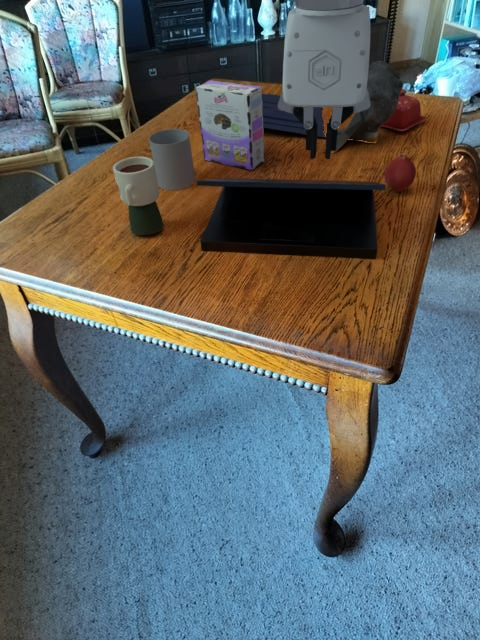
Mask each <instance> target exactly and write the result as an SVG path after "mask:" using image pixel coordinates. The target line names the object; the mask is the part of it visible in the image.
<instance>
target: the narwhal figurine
mask: <svg viewBox="0 0 480 640" xmlns="http://www.w3.org/2000/svg"><path fill="white" fill-rule="evenodd" d="M403 87H404V82H403V81H402V80H401V79H399V76H398V73H397V72H396V70H395V69H394V68H393V66H392V65H391V64H390V63H389V62H387V61H383V60H376V61H373V62H372V63H369V68H368V80H367V89H368V93H369V98H370V108H369V109H366V110H364V111H361V112H358V113H354V114H353V117H352V119H351V120H350V122H349V123H348V125H347V127H345V128H340V129H338V132H337V145H336V151H334V152H335V153H337V152H338V150H340V149H341V148H342V146H344V144H346V142H347V140H348V139H353V140H363V141H367V142H375V141H377V140H378V141H379V135H378V134H379V131H380V128H381V127H380V126H381V125H383V124H384V123H385V122H386V121H387V120H388V119H389V117H390V116H391V115H392V114H393V111H394V110H395V108H396V106H397V104H398V100H399V97H400V94H401V91H402V89H404V88H403ZM378 141H377V142H378Z"/></svg>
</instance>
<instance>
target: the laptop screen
mask: <svg viewBox="0 0 480 640" xmlns="http://www.w3.org/2000/svg"><path fill="white" fill-rule="evenodd" d="M195 181H196V183H195V184H196V186H199V187H219V188H221V187H222V188H223V187H261V188H302V189H344V190H374V191H386V188H387V184H385V183H381V182H377V181H372V180H371V181H370V180H369V181H368V180H367V181H366V180H365V181H364V180H325V179H323V180H322V179H321V180H319V179H318V180H317V179H280V178H279V179H276V178H275V179H274V178H273V179H272V178H227V177H226V178H225V177H223V178H212V179H199V180H195Z"/></svg>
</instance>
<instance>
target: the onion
mask: <svg viewBox="0 0 480 640" xmlns="http://www.w3.org/2000/svg"><path fill="white" fill-rule="evenodd" d="M416 177H417V169H416V166H415V164H414V161H412V159H410V158H409V156H407V154H406V153H405V152H402V153H401V154H400V155H399V156H397V157H395V158H394V159H392V160H391V161H390V162H389V163H388V165H387V166H386V168H385V171H384V181H385V183H386V186H388V187H389V188H390V189H392V191H393V192H395V193H400V192H402V191H404V190H406V189H408V188H409V187H410V186H412V184H414V181H415V179H416Z"/></svg>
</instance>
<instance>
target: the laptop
mask: <svg viewBox="0 0 480 640" xmlns="http://www.w3.org/2000/svg"><path fill="white" fill-rule="evenodd" d="M374 191H375V190H344V189H302V188H261V187H222V189H221V191H220V194H219V195H218V199H217V201H216V203H215V206H214V209H213V210H212V213H211V214H210V217H209V220H208V222H207V225H206V227H205V230H204V233H203V234H202V236H201V238H200V248H201V251H202V252H222V253H224V252H225V253H243V254H260V255H261V254H263V255H285V256H305V257H322V258H323V257H324V258H327V257H328V258H343V259H345V258H347V259H366V260H368V259H369V260H376V259H377V255H378V250H379V249H378V237H377V236H378V235H377V221H376V220H377V219H376V208H375V207H376V206H375V192H374Z"/></svg>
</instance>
